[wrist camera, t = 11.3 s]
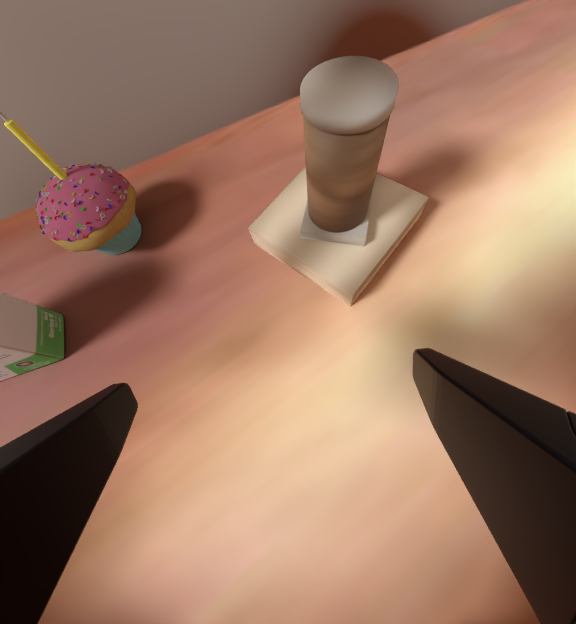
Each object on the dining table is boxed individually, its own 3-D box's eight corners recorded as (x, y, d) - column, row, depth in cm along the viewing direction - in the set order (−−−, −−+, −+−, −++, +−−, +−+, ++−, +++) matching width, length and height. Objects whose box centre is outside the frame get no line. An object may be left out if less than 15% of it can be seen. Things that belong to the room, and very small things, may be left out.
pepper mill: (371, 195, 24) (404, 55, 15) (364, 245, 22) (396, 122, 13) (312, 190, 25) (308, 54, 16) (300, 238, 23) (288, 118, 14)
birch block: (418, 220, 26) (429, 197, 23) (349, 308, 24) (353, 294, 21) (323, 173, 29) (322, 148, 27) (256, 247, 27) (248, 228, 24)
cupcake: (77, 225, 31) (-65, 116, 19) (147, 191, 31) (48, 65, 20) (93, 286, 27) (-66, 198, 16) (170, 247, 28) (67, 136, 17)
